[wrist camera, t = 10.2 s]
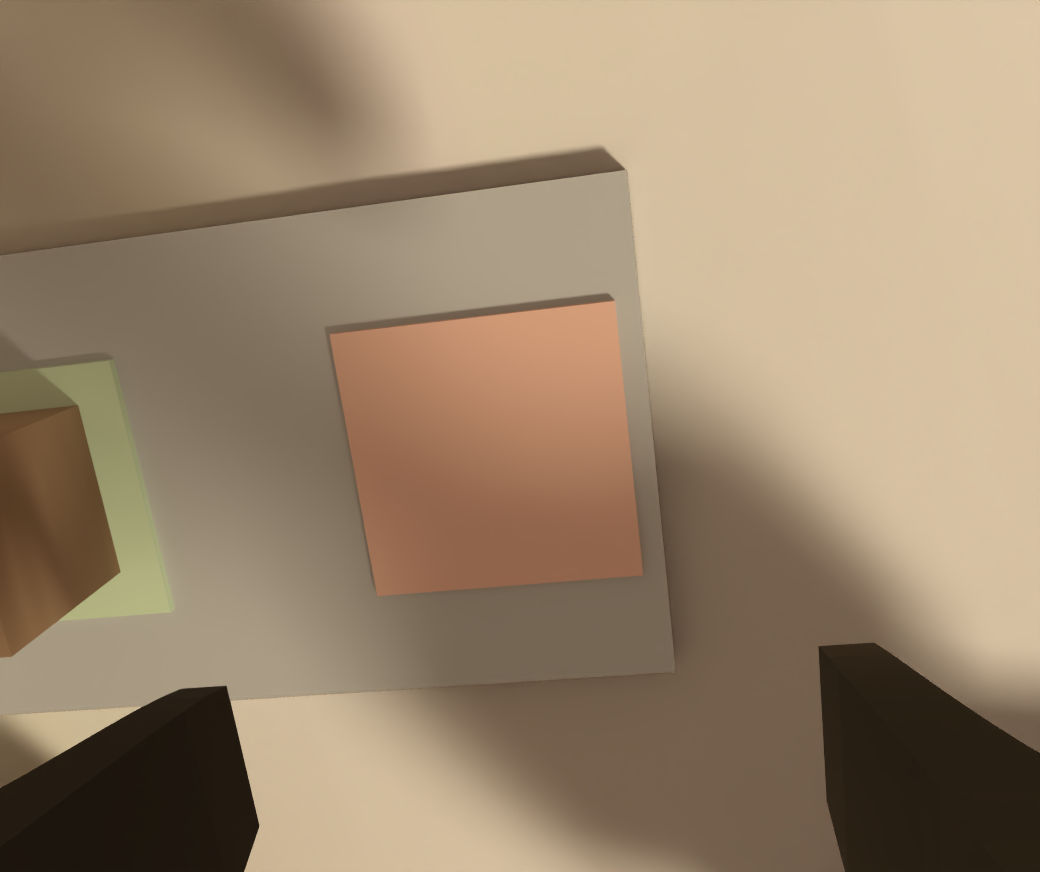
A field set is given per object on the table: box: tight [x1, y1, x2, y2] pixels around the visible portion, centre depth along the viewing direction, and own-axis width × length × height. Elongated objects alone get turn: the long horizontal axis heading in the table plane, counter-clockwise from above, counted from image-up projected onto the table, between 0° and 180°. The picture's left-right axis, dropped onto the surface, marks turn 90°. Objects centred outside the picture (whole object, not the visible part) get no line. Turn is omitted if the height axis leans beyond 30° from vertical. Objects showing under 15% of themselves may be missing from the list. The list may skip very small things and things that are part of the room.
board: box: [0, 170, 676, 715], centre depth 21 cm, size 18×11×1 cm, turn 98°
